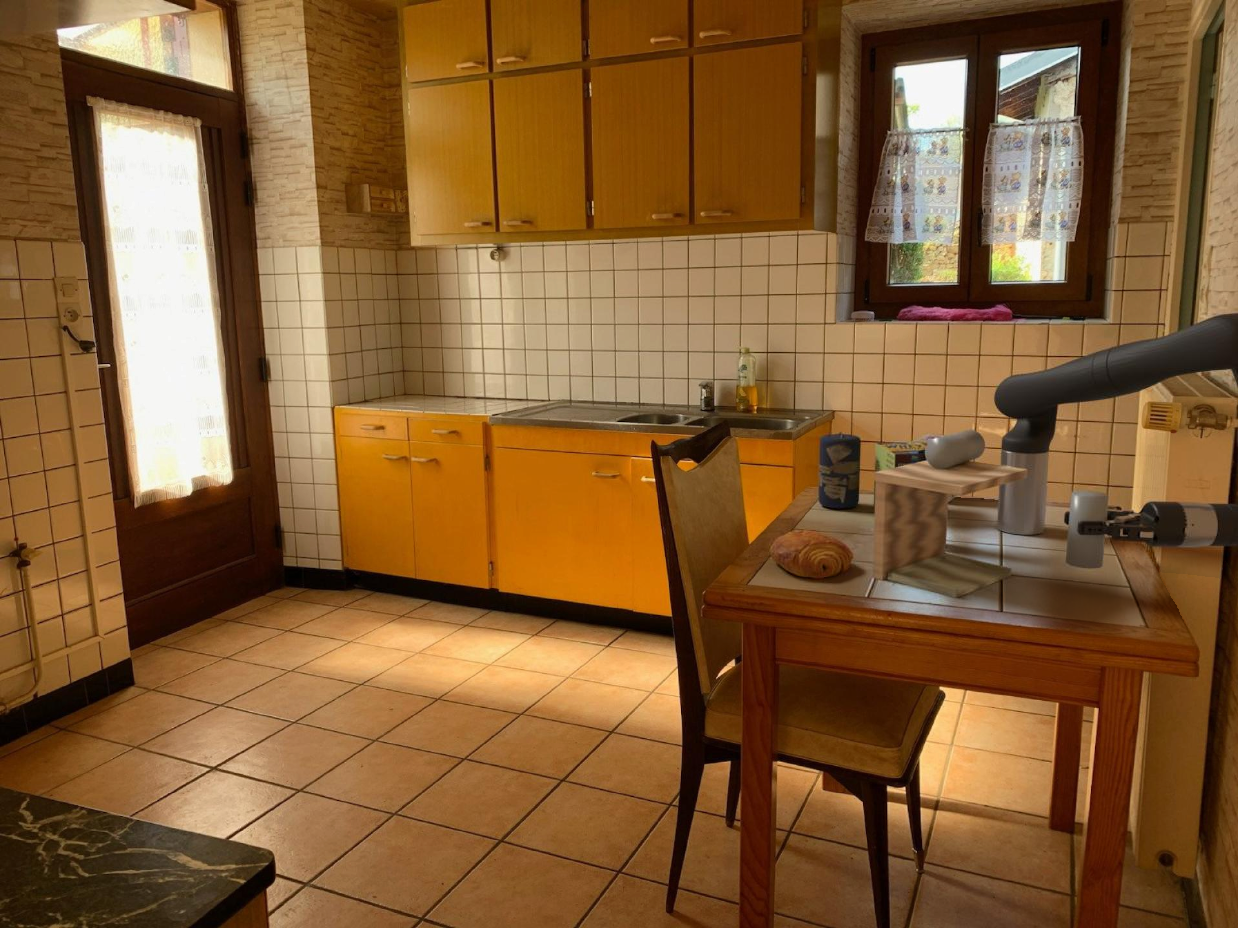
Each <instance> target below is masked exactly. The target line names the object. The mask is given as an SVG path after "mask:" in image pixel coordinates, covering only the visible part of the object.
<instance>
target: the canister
mask: <svg viewBox="0 0 1238 928" xmlns="http://www.w3.org/2000/svg"><path fill="white" fill-rule="evenodd" d="M861 441H862V440H861V438H860V437H859V436H858V435H854V434H849V433H848V434H846V433H843V432H842V431H839V433H831V434H830V433H829V434H825V435H822V436H821V437H820V440H819V454H818V455H819V458H818V459H819V460H818V491H817V492H818V495H817V496H818V503H819V504H820V505H821V506H824V507H827V508H833V509H849V508H854V507H857V505H858V504H859V502H860V483H861V481H860V478H861V453H862V452H861V450H862V449H861V447H862V446H861V445H862V442H861Z"/></svg>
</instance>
